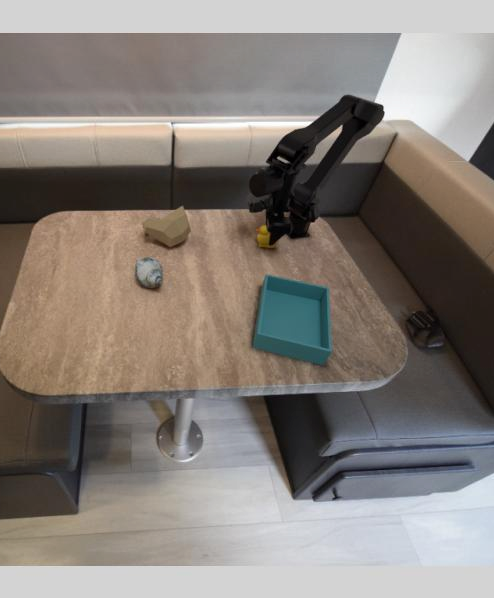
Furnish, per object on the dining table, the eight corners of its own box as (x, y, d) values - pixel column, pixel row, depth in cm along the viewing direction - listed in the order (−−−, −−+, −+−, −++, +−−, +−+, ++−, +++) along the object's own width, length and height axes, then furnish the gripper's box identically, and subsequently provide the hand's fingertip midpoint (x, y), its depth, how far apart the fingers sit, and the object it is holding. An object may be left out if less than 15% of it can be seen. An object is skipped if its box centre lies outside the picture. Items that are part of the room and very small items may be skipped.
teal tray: (261, 288, 92) (265, 274, 88) (321, 301, 89) (329, 287, 85) (252, 347, 78) (257, 333, 75) (323, 365, 75) (332, 351, 72)
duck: (277, 241, 107) (282, 223, 102) (278, 249, 104) (284, 231, 99) (252, 239, 107) (257, 221, 102) (253, 247, 104) (258, 229, 100)
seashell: (158, 270, 98) (155, 300, 90) (134, 260, 96) (128, 290, 88) (169, 254, 94) (166, 284, 85) (143, 243, 92) (138, 273, 83)
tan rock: (197, 237, 108) (176, 207, 109) (204, 222, 97) (180, 190, 99) (157, 262, 105) (136, 232, 107) (159, 250, 95) (135, 216, 96)
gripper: (249, 168, 99) (239, 216, 110) (255, 202, 86) (243, 253, 97) (289, 171, 98) (275, 219, 110) (301, 206, 85) (283, 256, 97)
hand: (268, 235), depth 103 cm, fingers open, 9 cm apart
